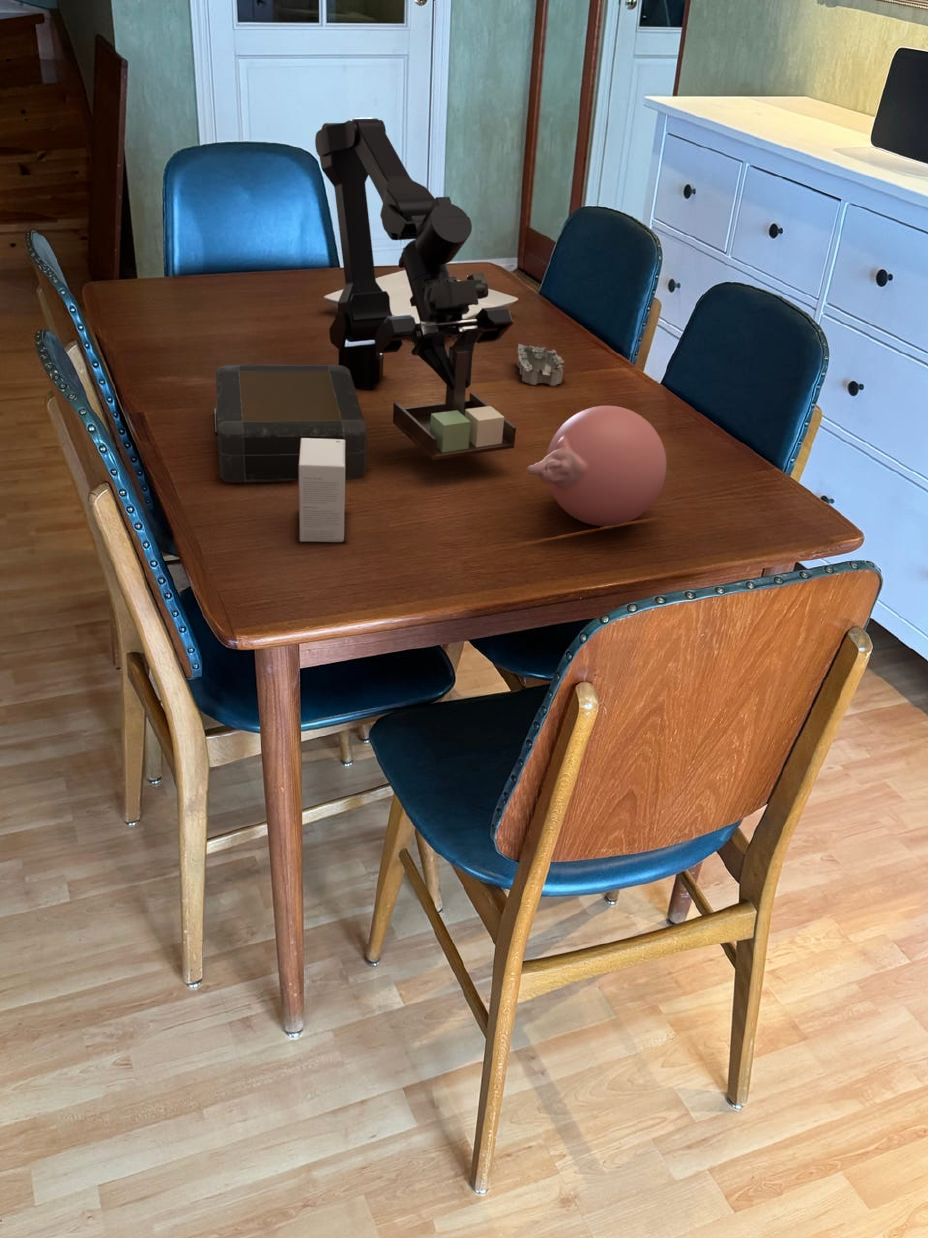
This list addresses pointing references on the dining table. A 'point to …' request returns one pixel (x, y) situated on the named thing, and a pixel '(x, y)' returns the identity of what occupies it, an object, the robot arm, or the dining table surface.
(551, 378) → the grey castle model
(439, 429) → the sage block
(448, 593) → the dining table surface
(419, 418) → the brown tray with post
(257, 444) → the cash box
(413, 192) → the robot arm
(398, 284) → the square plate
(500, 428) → the cream block
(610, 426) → the balloon
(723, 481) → the dining table surface
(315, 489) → the small box
